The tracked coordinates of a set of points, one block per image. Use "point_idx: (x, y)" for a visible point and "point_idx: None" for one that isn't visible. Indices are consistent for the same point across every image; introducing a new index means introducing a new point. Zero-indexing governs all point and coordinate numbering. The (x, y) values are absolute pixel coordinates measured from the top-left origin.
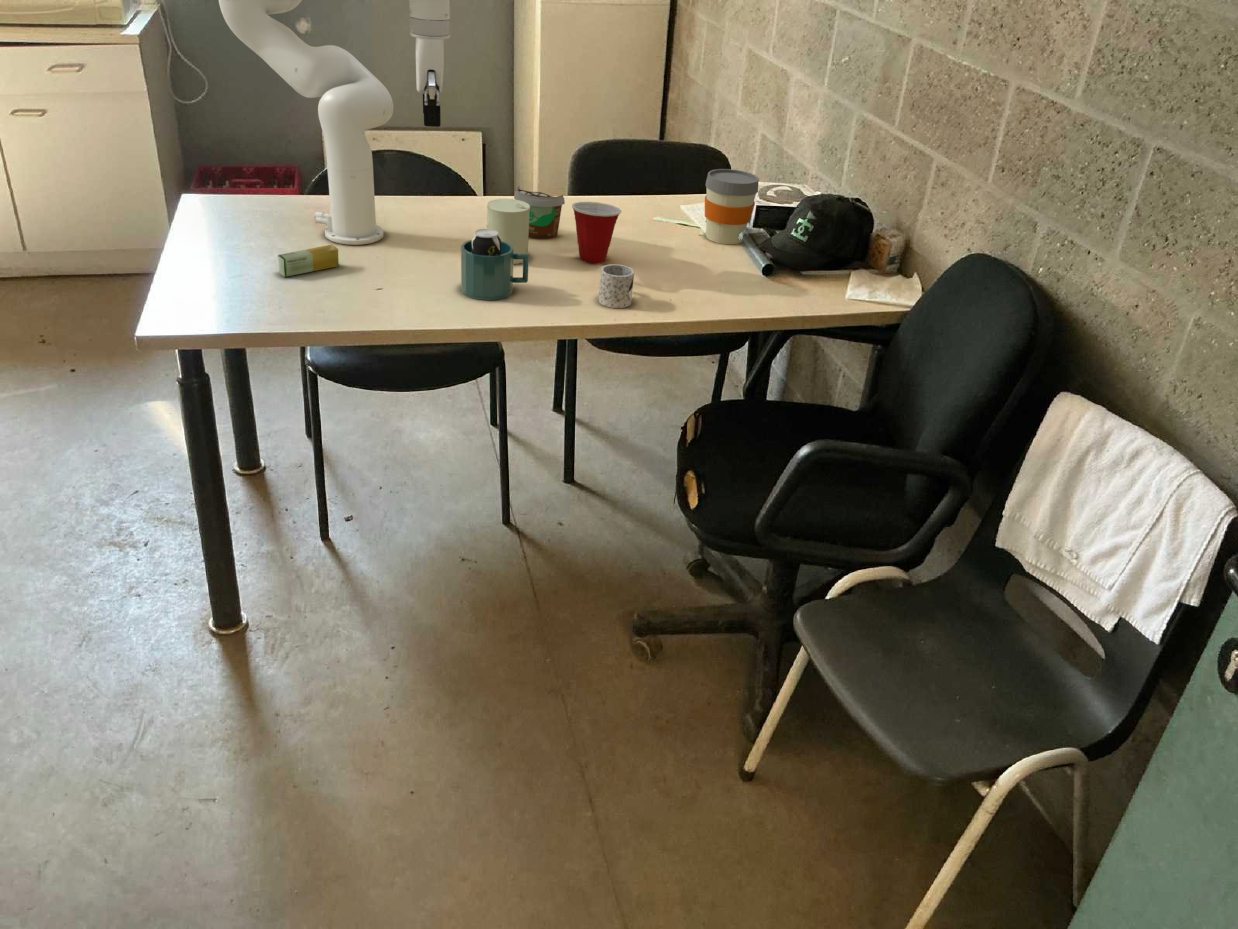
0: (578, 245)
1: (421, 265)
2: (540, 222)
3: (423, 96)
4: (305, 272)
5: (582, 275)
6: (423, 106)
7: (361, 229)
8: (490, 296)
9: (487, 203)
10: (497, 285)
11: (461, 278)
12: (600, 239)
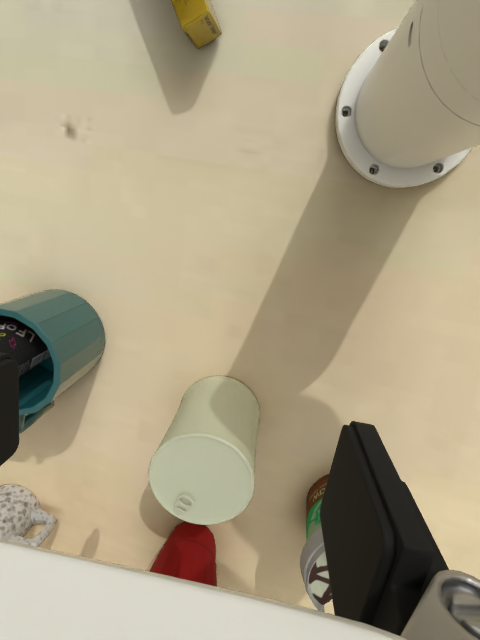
0: (193, 539)
1: (192, 241)
2: (308, 519)
3: (377, 527)
4: None
5: (123, 499)
6: (366, 455)
7: (360, 118)
8: None
9: (220, 438)
10: None
11: (37, 293)
12: None
